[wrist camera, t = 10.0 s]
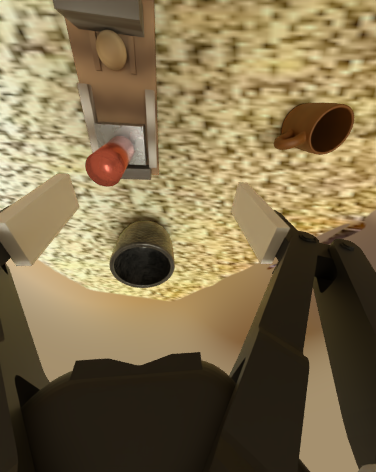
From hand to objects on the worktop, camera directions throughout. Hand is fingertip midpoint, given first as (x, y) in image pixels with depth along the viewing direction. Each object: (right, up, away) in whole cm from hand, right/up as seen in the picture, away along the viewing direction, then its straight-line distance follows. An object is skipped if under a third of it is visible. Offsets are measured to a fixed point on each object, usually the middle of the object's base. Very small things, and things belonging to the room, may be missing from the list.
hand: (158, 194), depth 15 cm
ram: (-9, +14, +19) cm, 26 cm away
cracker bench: (-9, +20, +17) cm, 28 cm away
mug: (+23, +19, +23) cm, 38 cm away
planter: (-9, -3, +35) cm, 36 cm away
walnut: (-9, +24, +12) cm, 28 cm away
